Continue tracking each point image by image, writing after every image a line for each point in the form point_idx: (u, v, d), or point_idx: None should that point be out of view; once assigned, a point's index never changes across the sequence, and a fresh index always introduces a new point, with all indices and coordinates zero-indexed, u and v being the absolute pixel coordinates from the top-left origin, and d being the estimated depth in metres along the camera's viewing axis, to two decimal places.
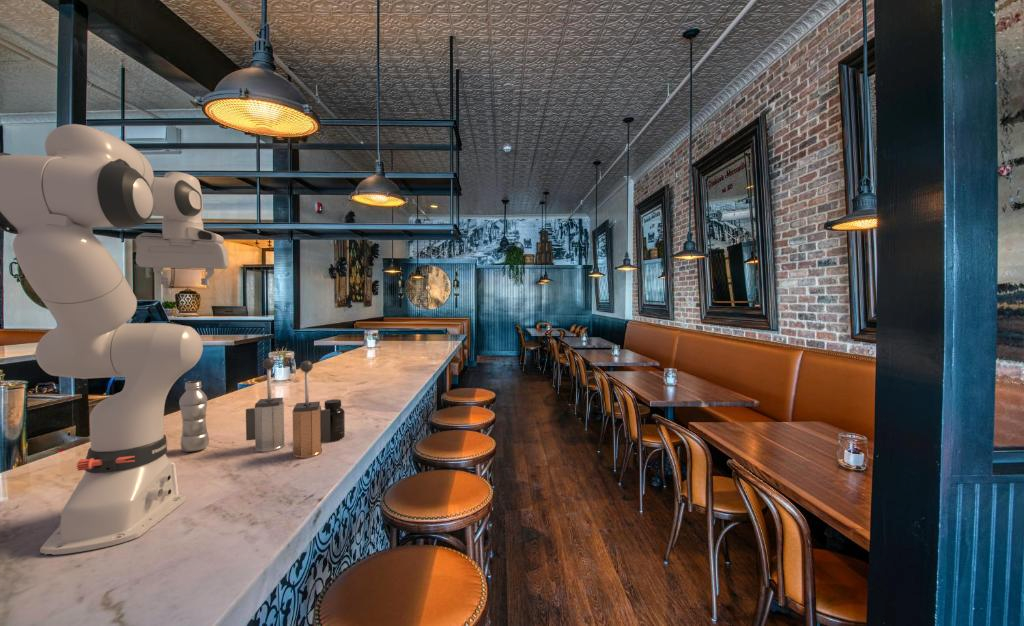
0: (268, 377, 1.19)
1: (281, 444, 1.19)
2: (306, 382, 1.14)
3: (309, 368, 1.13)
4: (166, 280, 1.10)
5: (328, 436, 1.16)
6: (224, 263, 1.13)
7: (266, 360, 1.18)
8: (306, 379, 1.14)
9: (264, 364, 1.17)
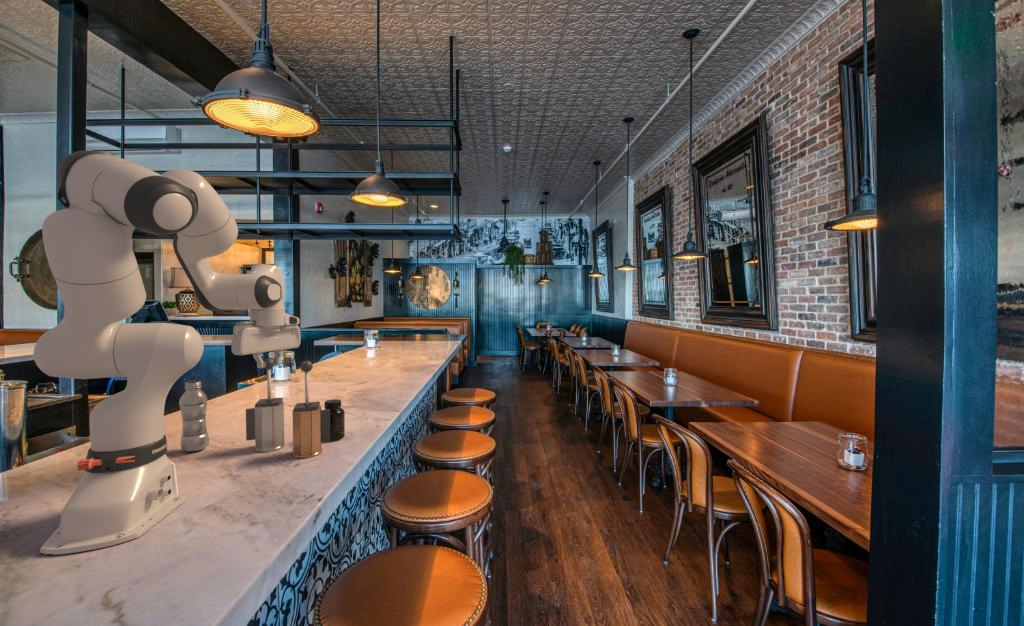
0: (268, 377, 1.19)
1: (281, 444, 1.19)
2: (306, 382, 1.14)
3: (309, 368, 1.13)
4: None
5: (328, 436, 1.16)
6: None
7: (266, 360, 1.18)
8: (306, 379, 1.14)
9: None
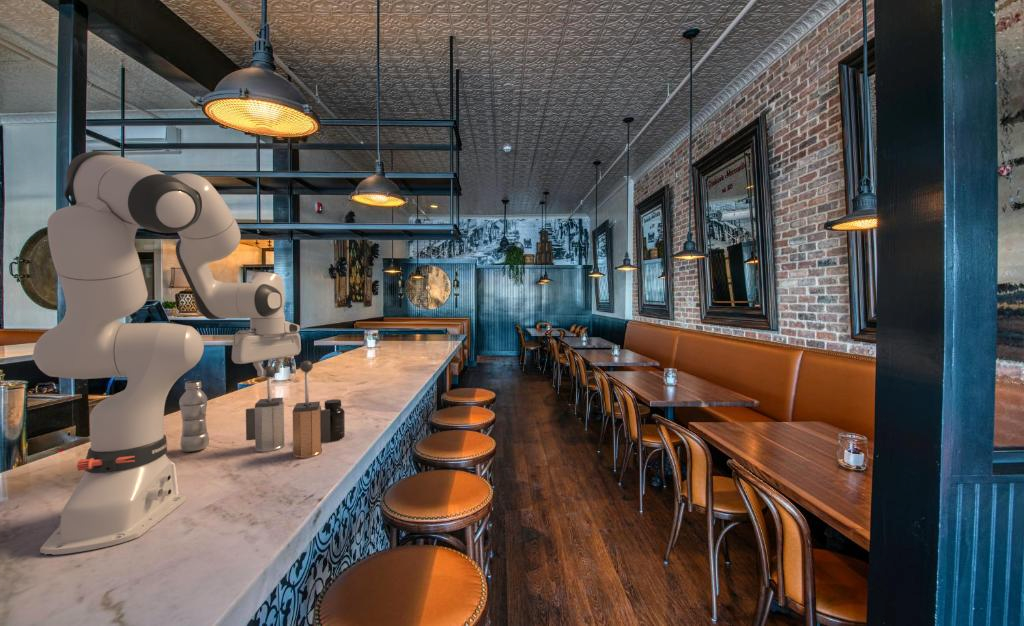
0: (268, 385, 1.19)
1: (281, 444, 1.19)
2: (306, 382, 1.14)
3: (309, 368, 1.13)
4: None
5: (328, 436, 1.16)
6: (300, 350, 1.27)
7: (266, 368, 1.18)
8: (306, 379, 1.14)
9: None
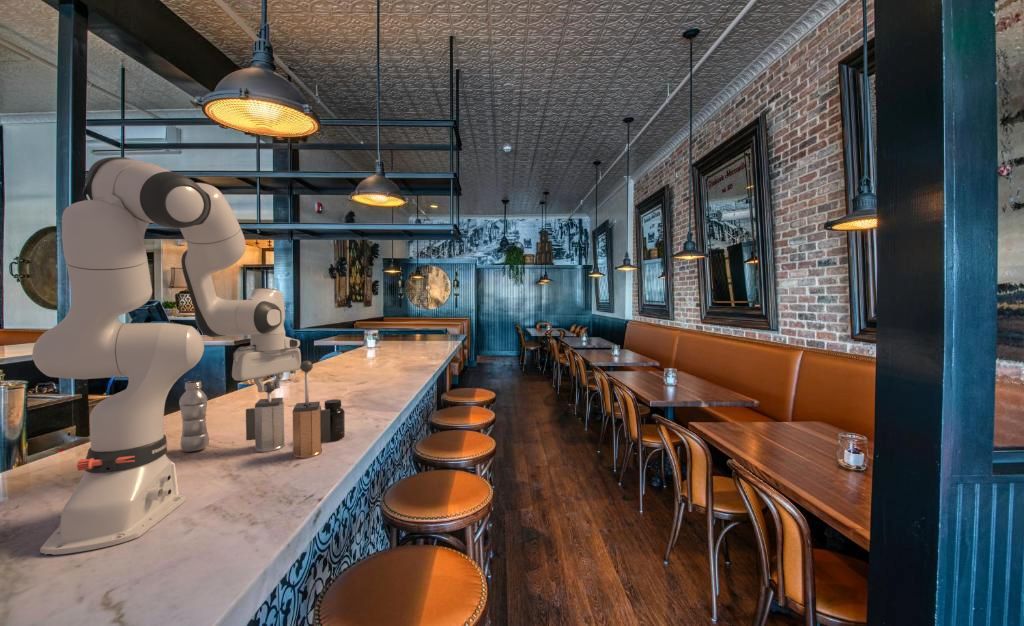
0: (268, 400, 1.19)
1: (281, 444, 1.19)
2: (306, 382, 1.14)
3: (309, 368, 1.13)
4: None
5: (328, 436, 1.16)
6: (300, 364, 1.28)
7: (266, 384, 1.18)
8: (306, 379, 1.14)
9: None
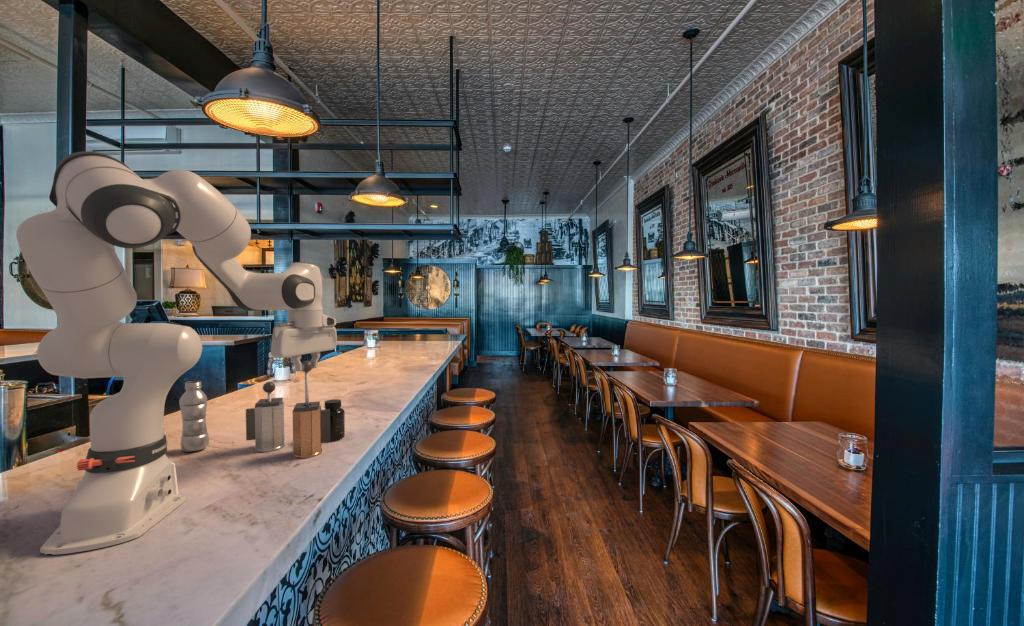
0: None
1: (281, 444, 1.19)
2: (306, 382, 1.14)
3: (309, 368, 1.13)
4: None
5: (328, 436, 1.16)
6: (336, 344, 1.23)
7: (266, 384, 1.18)
8: (306, 379, 1.14)
9: (264, 388, 1.17)
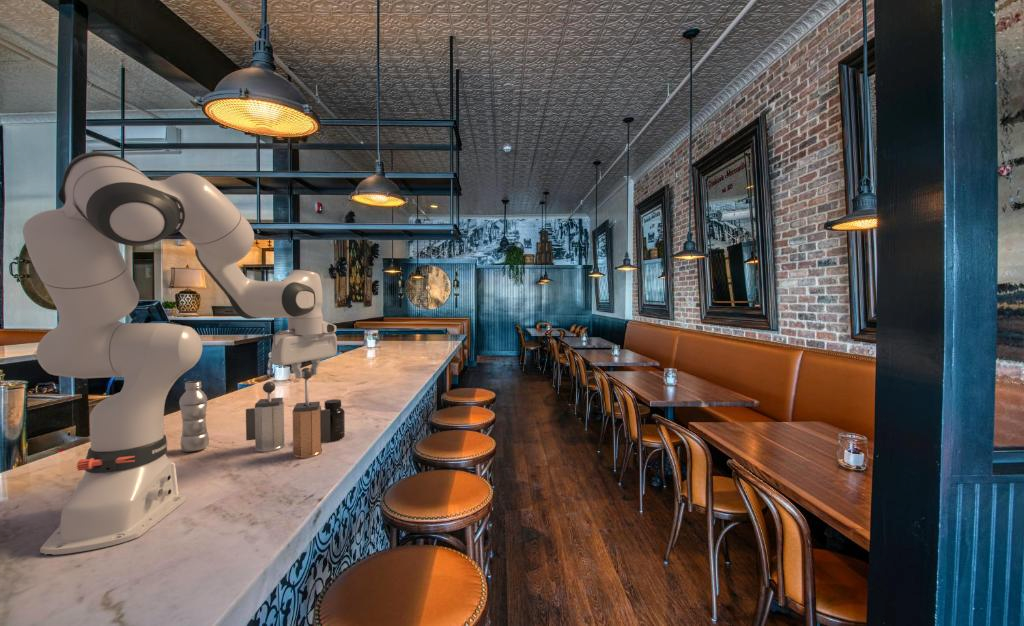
0: None
1: (281, 444, 1.19)
2: (306, 389, 1.14)
3: (309, 375, 1.13)
4: None
5: (328, 436, 1.16)
6: (336, 351, 1.23)
7: (266, 384, 1.18)
8: (306, 386, 1.14)
9: (264, 388, 1.17)
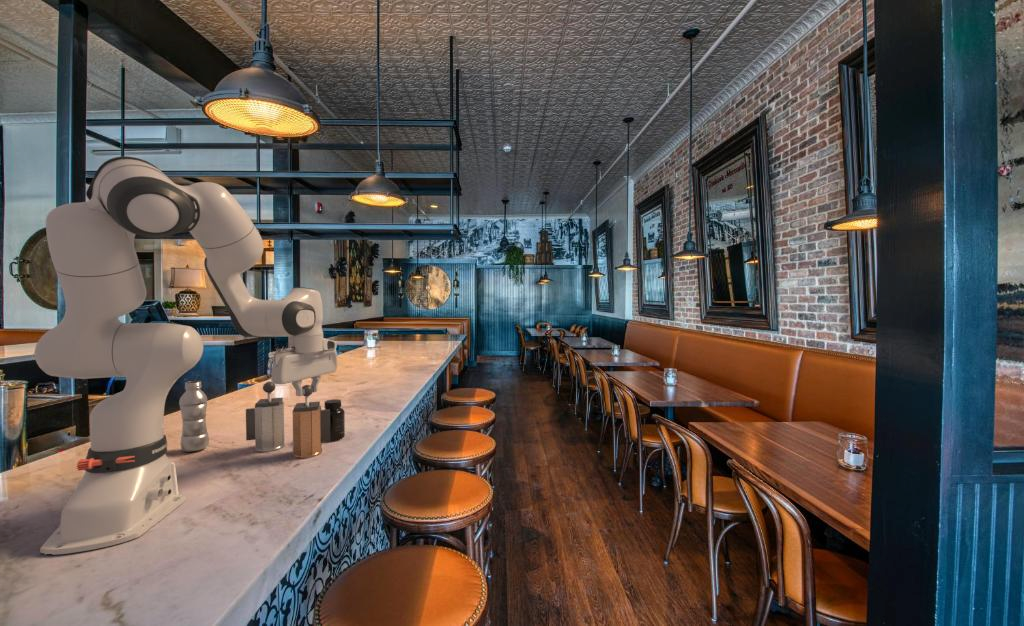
0: None
1: (281, 444, 1.19)
2: None
3: (309, 392, 1.14)
4: None
5: (328, 436, 1.16)
6: (336, 367, 1.23)
7: (266, 384, 1.18)
8: (306, 403, 1.14)
9: (264, 388, 1.17)
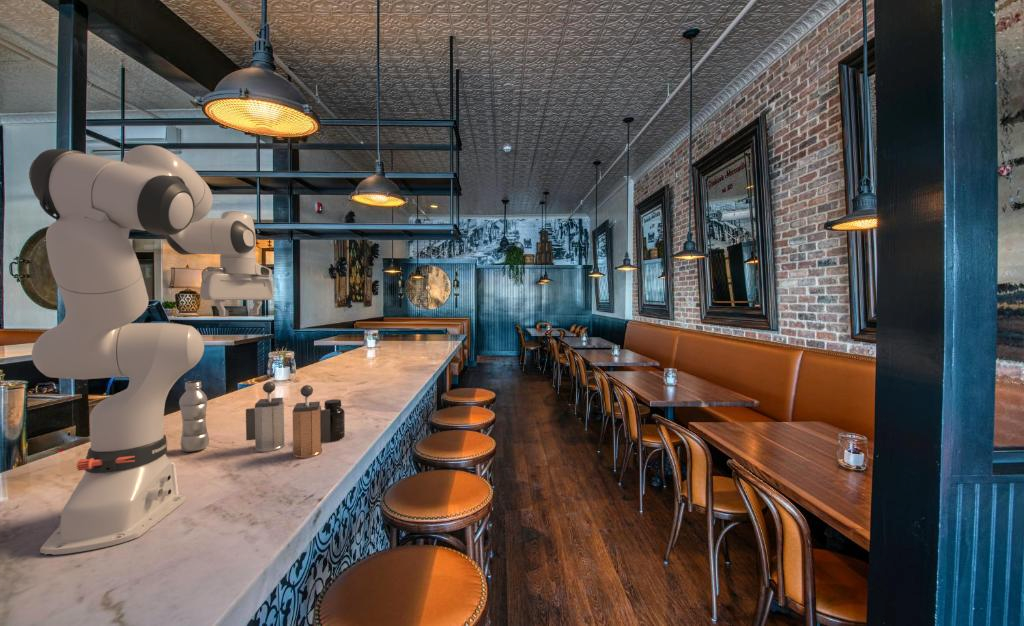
0: None
1: (281, 444, 1.19)
2: None
3: (309, 393, 1.14)
4: None
5: (328, 436, 1.16)
6: None
7: (266, 384, 1.18)
8: (306, 403, 1.14)
9: (264, 388, 1.17)
